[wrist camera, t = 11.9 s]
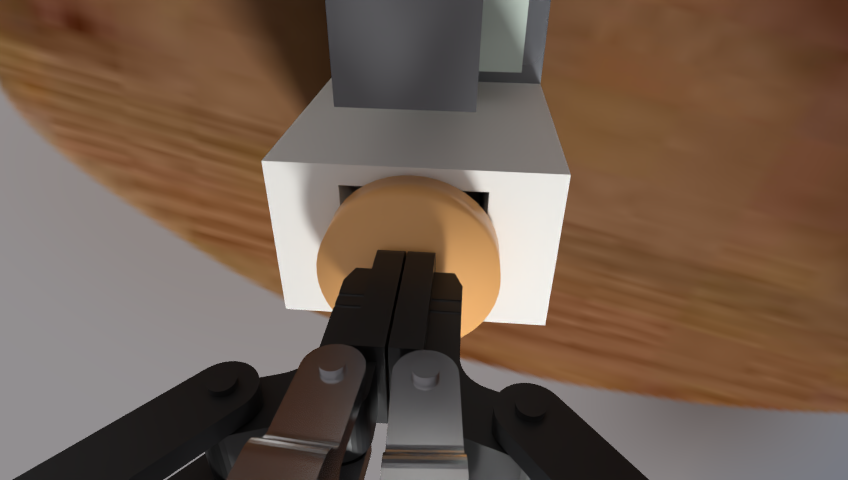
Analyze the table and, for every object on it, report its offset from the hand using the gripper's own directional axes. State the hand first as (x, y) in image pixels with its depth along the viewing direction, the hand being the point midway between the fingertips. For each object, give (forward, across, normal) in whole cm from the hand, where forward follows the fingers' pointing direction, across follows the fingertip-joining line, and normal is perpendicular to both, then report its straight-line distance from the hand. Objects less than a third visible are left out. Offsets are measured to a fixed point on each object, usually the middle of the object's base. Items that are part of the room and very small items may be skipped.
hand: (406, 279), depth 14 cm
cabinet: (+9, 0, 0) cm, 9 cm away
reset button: (+7, 0, 0) cm, 7 cm away
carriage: (+9, 0, -6) cm, 11 cm away
